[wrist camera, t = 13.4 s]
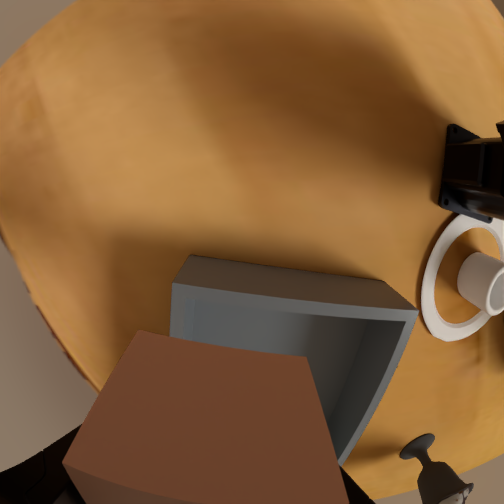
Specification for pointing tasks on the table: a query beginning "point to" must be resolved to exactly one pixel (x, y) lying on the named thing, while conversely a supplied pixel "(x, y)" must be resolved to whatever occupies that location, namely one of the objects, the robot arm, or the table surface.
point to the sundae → (436, 475)
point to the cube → (205, 430)
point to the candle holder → (466, 281)
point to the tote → (301, 329)
